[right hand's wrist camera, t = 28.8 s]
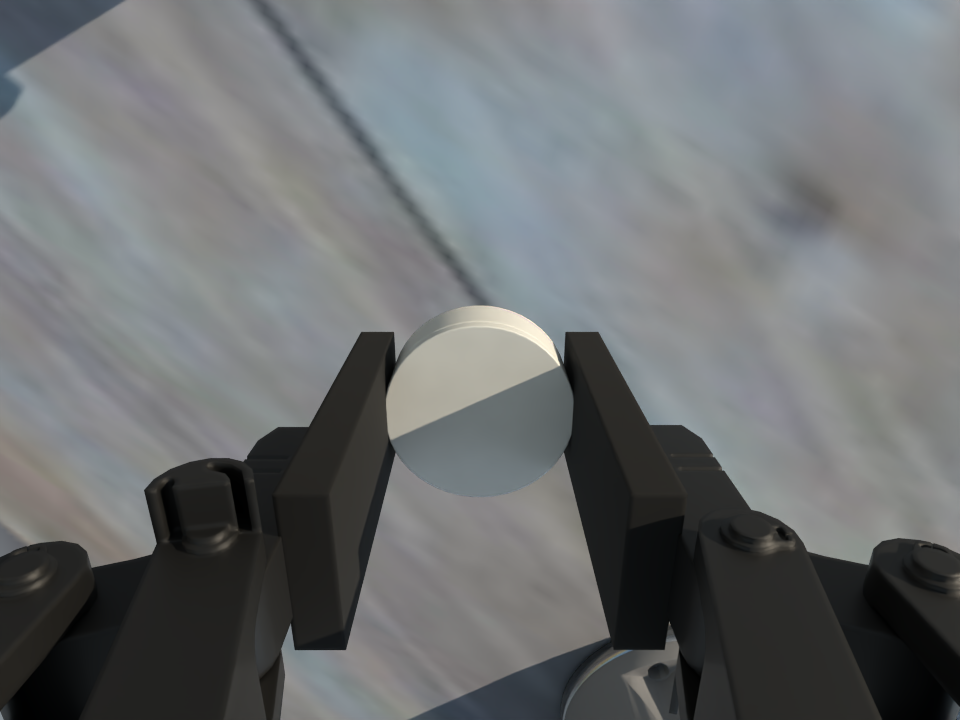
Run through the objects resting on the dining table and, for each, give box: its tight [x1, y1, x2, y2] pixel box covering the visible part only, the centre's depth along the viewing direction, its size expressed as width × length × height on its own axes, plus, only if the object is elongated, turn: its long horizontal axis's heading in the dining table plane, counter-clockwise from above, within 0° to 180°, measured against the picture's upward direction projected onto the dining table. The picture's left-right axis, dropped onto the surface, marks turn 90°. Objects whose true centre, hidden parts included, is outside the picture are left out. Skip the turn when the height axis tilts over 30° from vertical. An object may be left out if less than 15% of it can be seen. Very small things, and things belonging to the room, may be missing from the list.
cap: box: [386, 306, 574, 497], centre depth 14 cm, size 4×4×2 cm
